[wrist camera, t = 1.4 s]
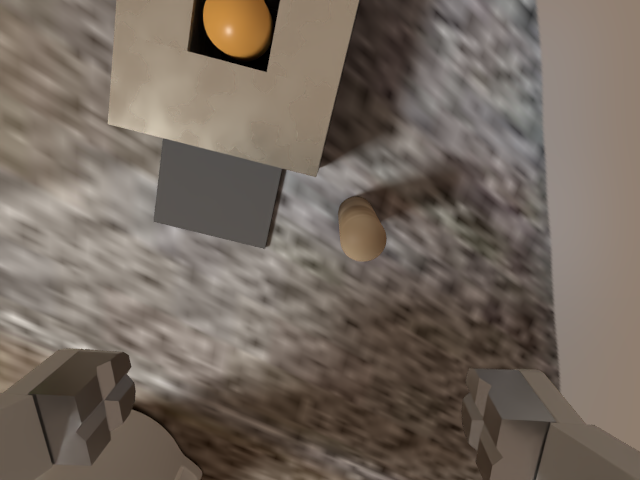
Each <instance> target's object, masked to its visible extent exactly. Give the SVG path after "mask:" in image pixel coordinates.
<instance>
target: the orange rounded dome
mask: <svg viewBox="0 0 640 480" xmlns="http://www.w3.org/2000/svg"><path fill="white" fill-rule="evenodd" d="M203 21H204V26H205V30H206V32H207V35H208V36H209V38H210V40H211V41H212V42H213V44H214V45H215V46H216V47H217V48H219V49H220V50H221V51H223V52H224V53H225V54H227V55H228V56H229V57H231V58H233V59H235V60H238V61H244V62H247V61H253V60H255V59H258V58H259V57H261V56H262V55H263V54H264V53H265V52H266V51H267V50H268V48H269V46H270V45H271V42H272V39H273V33H274V25H273V20H272V16H271V14H270V12H269V10H268V8H267V6H266V4H265V2H264V0H206V2H205V5H204V10H203Z"/></svg>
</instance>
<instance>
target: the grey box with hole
mask: <svg viewBox="0 0 640 480" xmlns="http://www.w3.org/2000/svg"><path fill="white" fill-rule="evenodd" d="M205 2H206V0H117V1H116V16H115V30H114V44H113V58H112V72H111V86H110V100H109V115H108V124H110V125H114V126H118V127H122V128H126V129H129V130H133V131H137V132H141V133H145V134H149V135H153V136H157V137H161V138H165V139H169V140H173V141H177V142H180V143H184V144H188V145H192V146H196V147H200V148H204V149H208V150H212V151H216V152H220V153H224V154H228V155H231V156H235V157H239V158H243V159H247V160H251V161H255V162H259V163H263V164H267V165H271V166H275V167H279V168H282V169H286V170H290V171H294V172H298V173H302V174H306V175H310V176H314V177H316V176H317V173H318V170H319V167H320V163H321V159H322V155H323V151H324V147H325V143H326V138H327V134H328V130H329V126H330V122H331V118H332V114H333V110H334V106H335V102H336V98H337V93H338V89H339V85H340V81H341V77H342V73H343V69H344V65H345V61H346V57H347V53H348V48H349V44H350V40H351V36H352V32H353V28H354V24H355V20H356V16H357V12H358V8H359V4H360V0H264V2H265V4H266V6H267V8H269V9H272V10H276V11H278V15H277V20H276V25H275V31H274V36H273V41H272V47H271V52H270V57H269V63H268V68H267V72H264V71H260V70H256V69H253V68H249V67H245V66H241V65H238V64H234V63H230V62H226V61H223V60H220V58H221V50H220V49H219V48H217V47H216V46H215V45H214V44H213V42H212V41H211V40H210V38H209V36H208V35H207V32H206V30H205V26H204V21H203V10H204V5H205Z"/></svg>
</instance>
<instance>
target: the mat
mask: <svg viewBox="0 0 640 480" xmlns="http://www.w3.org/2000/svg"><path fill="white" fill-rule="evenodd" d="M281 173H282V168H279V167H275V166H271V165H267V164H263V163H259V162H255V161H251V160H247V159H243V158H239V157H235V156H231V155H228V154H224V153H220V152H216V151H212V150H208V149H204V148H200V147H196V146H192V145H188V144H184V143H180V142H177V141H173V140H169V139H165V138H163V145H162V153H161V162H160V171H159V179H158V188H157V197H156V205H155V214H154V222H157V223H162V224H166V225H170V226H174V227H178V228H182V229H186V230H190V231H194V232H198V233H202V234H206V235H211V236H215V237H219V238H223V239H227V240H231V241H235V242H239V243H243V244H247V245H251V246H255V247H259V248H264V249H265V247H266V243H267V238H268V234H269V229H270V224H271V220H272V215H273V210H274V206H275V201H276V196H277V192H278V187H279V182H280V178H281Z"/></svg>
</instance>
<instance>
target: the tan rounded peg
mask: <svg viewBox="0 0 640 480" xmlns="http://www.w3.org/2000/svg"><path fill="white" fill-rule="evenodd" d="M338 217H339V229H340V242H341V247H342V249H343V251H344V252H345V254H346V255H347V256H348V257H350V258H351V259H353V260H356V261H370V260H372V259H375V258H376V257H378V256H379V255H380V254H381V253H382V251H383V250H384V248H385V245H386V233H385V230H384V228H383V226H382V225H381V223H380V221H379V219H378V217H377V215H376V214H375V212H374V210H373V208H372V206H371V205H370V203H369V202H368V201H367V200H366V199H364V198H362V197H356V196H355V197H350V198H348V199H346V200H345V201H344V202H343V203H342V204H341V205H340V207H339V211H338Z"/></svg>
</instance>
